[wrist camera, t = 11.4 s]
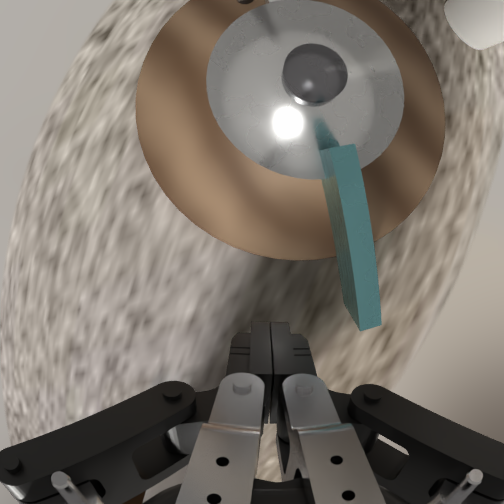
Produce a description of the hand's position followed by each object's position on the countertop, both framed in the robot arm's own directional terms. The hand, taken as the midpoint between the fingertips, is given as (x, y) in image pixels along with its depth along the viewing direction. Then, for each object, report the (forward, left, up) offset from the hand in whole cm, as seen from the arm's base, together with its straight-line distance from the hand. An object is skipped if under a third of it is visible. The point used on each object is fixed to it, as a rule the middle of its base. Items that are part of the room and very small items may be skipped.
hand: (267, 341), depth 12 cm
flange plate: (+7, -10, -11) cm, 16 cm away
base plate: (+9, -10, -15) cm, 21 cm away
